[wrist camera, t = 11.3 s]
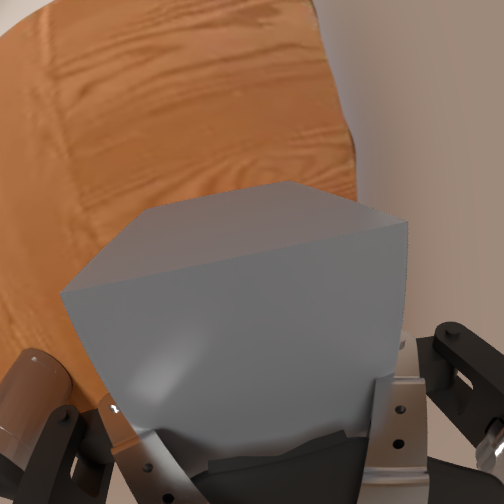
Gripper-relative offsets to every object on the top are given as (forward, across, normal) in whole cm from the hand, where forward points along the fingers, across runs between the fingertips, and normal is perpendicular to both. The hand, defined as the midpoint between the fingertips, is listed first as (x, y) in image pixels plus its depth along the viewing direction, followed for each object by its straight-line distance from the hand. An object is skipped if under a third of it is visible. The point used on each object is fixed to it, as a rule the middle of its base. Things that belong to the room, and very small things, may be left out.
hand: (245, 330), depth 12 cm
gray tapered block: (+3, 0, 0) cm, 3 cm away
